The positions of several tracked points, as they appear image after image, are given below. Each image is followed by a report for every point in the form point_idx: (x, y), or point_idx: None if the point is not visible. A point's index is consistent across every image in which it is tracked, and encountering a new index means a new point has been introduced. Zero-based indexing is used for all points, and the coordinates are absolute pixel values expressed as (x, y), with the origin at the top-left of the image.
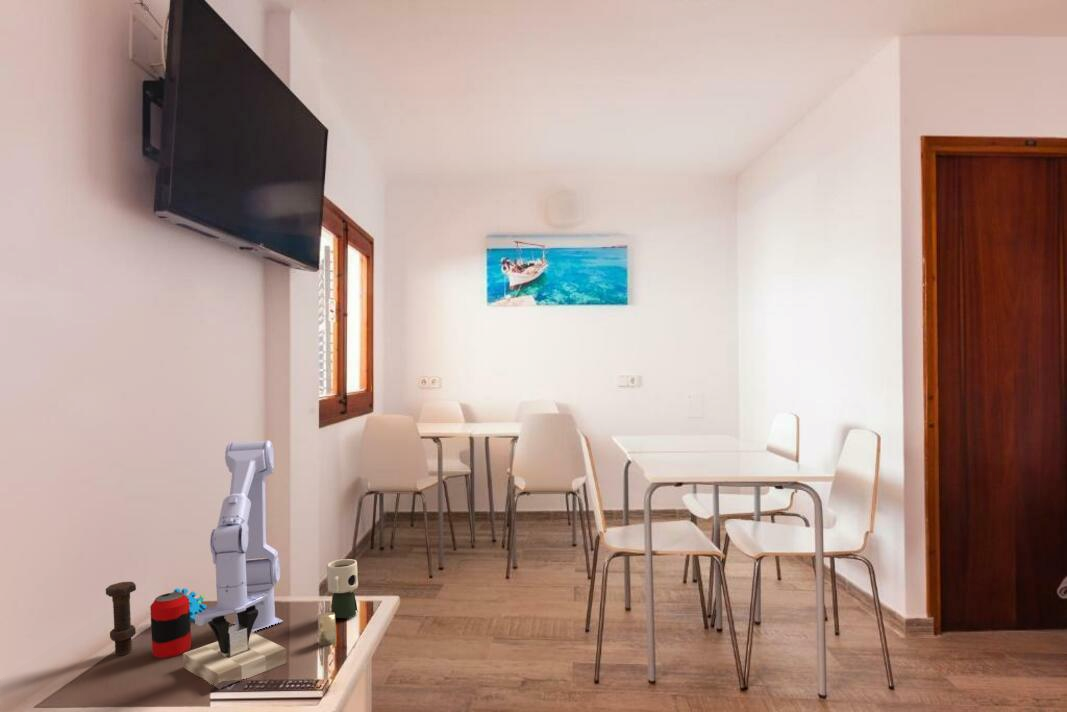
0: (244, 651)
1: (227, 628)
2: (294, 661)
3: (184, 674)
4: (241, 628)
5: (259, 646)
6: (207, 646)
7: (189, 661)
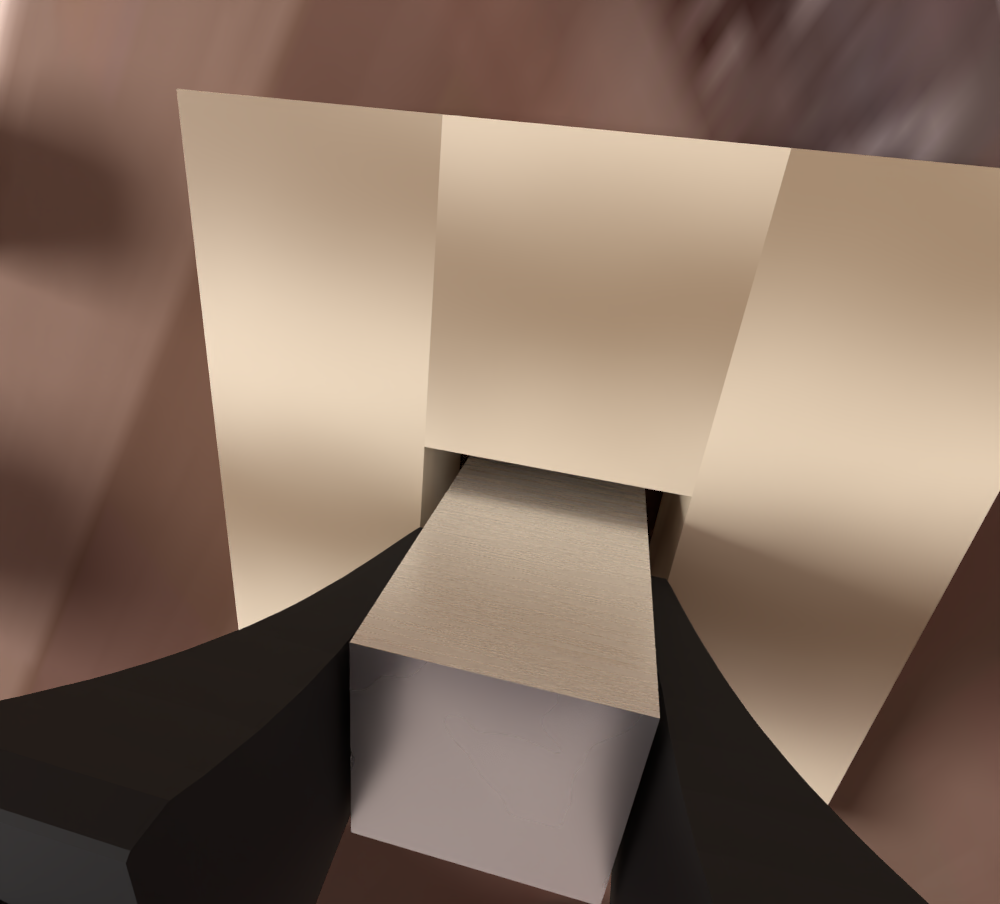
0: (494, 479)
1: (722, 838)
2: (219, 70)
3: None
4: (415, 695)
5: (342, 439)
6: None
7: None
